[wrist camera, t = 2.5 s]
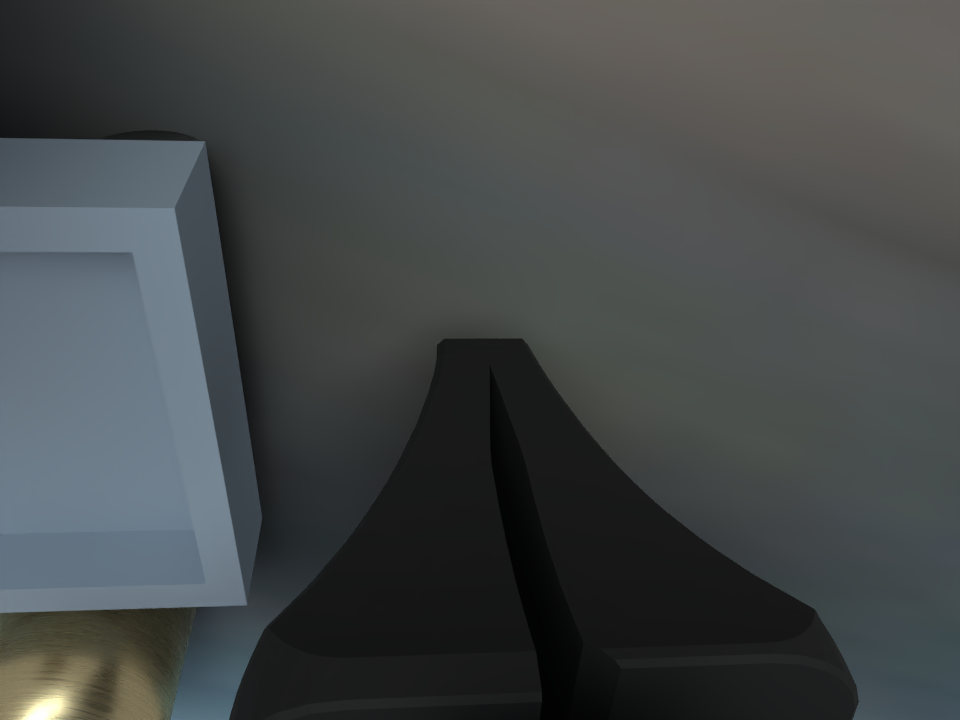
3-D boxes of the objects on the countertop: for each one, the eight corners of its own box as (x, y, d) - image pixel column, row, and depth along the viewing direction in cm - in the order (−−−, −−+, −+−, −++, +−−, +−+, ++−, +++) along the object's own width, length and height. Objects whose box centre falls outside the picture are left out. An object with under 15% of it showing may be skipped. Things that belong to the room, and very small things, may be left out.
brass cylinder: (215, 610, 21) (164, 852, 16) (52, 614, 20) (-46, 862, 16) (192, 499, 18) (124, 747, 14) (7, 502, 18) (-122, 756, 14)
